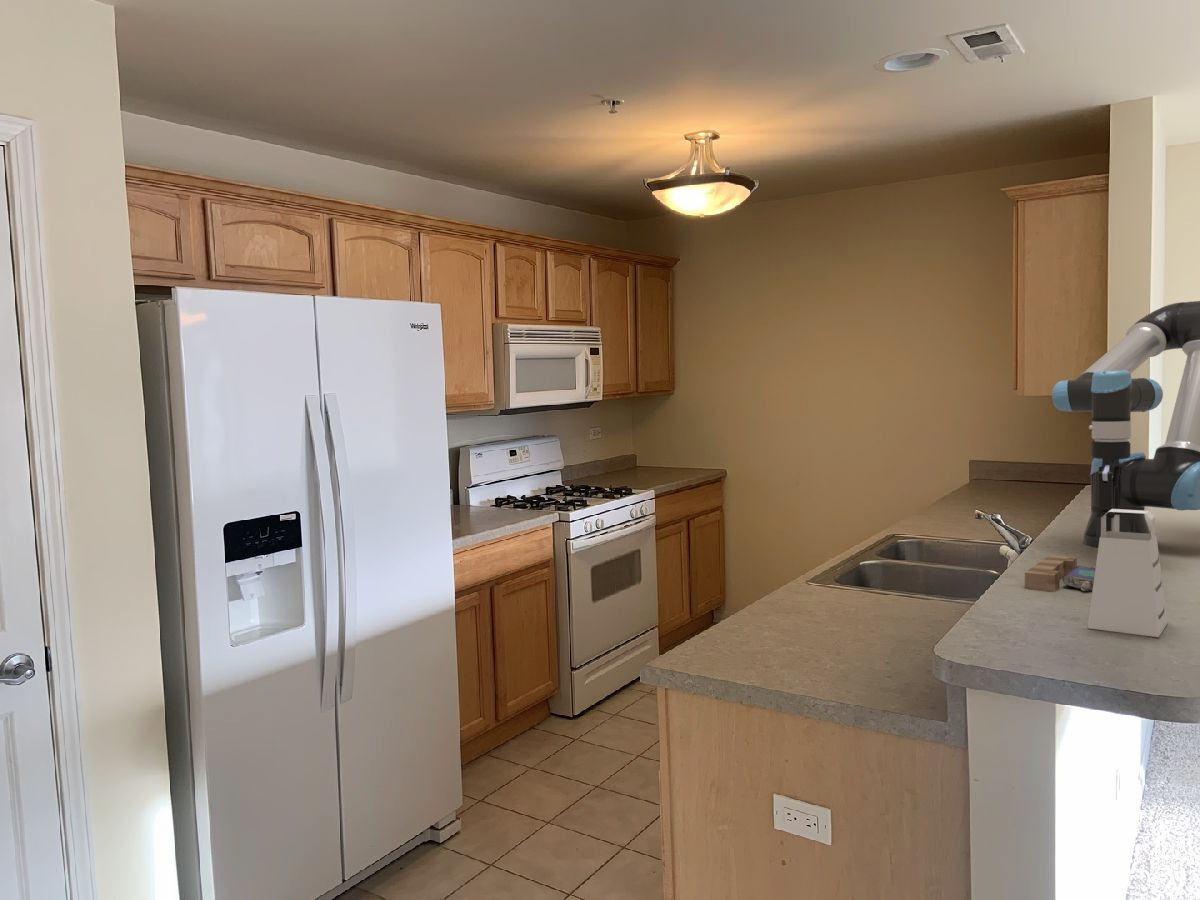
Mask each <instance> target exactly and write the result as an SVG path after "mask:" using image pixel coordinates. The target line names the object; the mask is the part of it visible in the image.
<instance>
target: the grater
mask: <svg viewBox="0 0 1200 900" xmlns="http://www.w3.org/2000/svg"><path fill="white" fill-rule="evenodd" d="M1108 512H1124V513H1143V514H1144V515H1145V516H1147V517H1148V518H1149V520H1151V526H1150V527H1151V528H1150V529H1151V530H1150V532H1151V534H1146V533H1130V532H1115V531H1107V532H1106V514H1107V513H1108ZM1108 512H1107V513H1106V514H1105V515H1104V516H1103V517H1102V536H1101V537H1100V540H1099V547H1098V548H1097V556H1096V561H1095V563H1096V564H1095V568H1096V569H1095V576H1094V584H1093V590H1091V600H1090V607H1089V614H1088V621H1087V622H1088V623H1087V629H1091V630H1099V631H1100V630H1101V631H1106V632H1115V633H1116V632H1117V633H1121V634H1122V633H1123V634H1131V635H1137V636H1139V635H1140V636H1147V637H1155V638H1159V637H1160V636H1161V634H1162V632H1164V629H1165V628H1166V626H1167V624H1168V616H1167V607H1166V601H1165V592H1164V586H1163V585H1164V584H1163V577H1162V570H1161V569H1162V568H1161V559H1160V553H1159V547H1158V546H1159V545H1158V536H1157V533H1156V529H1155V527H1156V526H1155V524H1156V522H1155V521H1156V518H1155V516H1154V514H1153V513H1151V512H1150V511H1149V510H1144V511H1143V510H1123V509H1111V510H1110V511H1108Z"/></svg>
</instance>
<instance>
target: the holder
mask: <svg viewBox="0 0 1200 900" xmlns="http://www.w3.org/2000/svg"><path fill="white" fill-rule="evenodd" d="M1077 566H1078V558H1077V557H1074V556H1063V555H1048V556H1046V557H1045V558H1044V559H1042V560H1040V562H1038V563H1037V564H1035V565H1034V566H1032V567H1030V568H1029V569H1027V571H1026V570H1025V572H1024V589H1025V590H1033V591H1042V592H1050V593H1052V592H1053V593H1055V592H1056V591H1057V590H1058V589H1060V581H1061V579H1063V576H1064V575H1065V574H1067V573H1069V572H1070V571H1071V570H1073V569H1074V568H1075V567H1077Z"/></svg>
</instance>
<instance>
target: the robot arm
mask: <svg viewBox="0 0 1200 900" xmlns="http://www.w3.org/2000/svg"><path fill="white" fill-rule="evenodd" d="M1178 349H1181V350H1182V352H1183V353H1184V354H1185V355H1186V356H1187V357H1186V361H1185V365H1184V368H1183V372H1182V376H1181V380H1180V383H1179V386H1178V392H1177V397H1176V399H1175V403H1174V407H1173V411H1172V416H1171V419H1170V423H1169V427H1168V432H1167V433H1166V434H1167V435H1166V438H1165V442H1164V444H1163V445H1160V446H1158V447H1157V448H1156V449H1155V452H1154V456H1153V458H1146V454H1145V453H1144V452H1131V442H1130V440H1131V437H1132V421H1131V419H1132V418H1131V413H1135V412H1136V413H1141V412H1142V413H1145V412H1147V411H1153V410H1154V409H1156V408H1157V407H1158V406H1159V405H1160V404H1161V403H1162V400H1163V398H1164V396H1163V395H1164V392H1163V391H1164V390H1163V387H1162V386H1161V384H1160V383H1158V382H1157V381H1156V380H1154V379H1152V378H1146V377H1138V378H1132V373H1134V372H1135V371H1136V370H1137V369H1138V368H1139V367H1141V365H1143V363H1145V362H1146V361H1147V360H1148V359H1149V358H1153V357H1157V356H1159V355H1160V354H1162V352H1165V351H1169V350H1178ZM1051 392H1052V393H1051V398H1052V399H1051V400H1052V403H1053V406H1054V407H1055V408H1056V409H1057V410H1058V411H1059V412H1060V411H1061V412H1071V413H1075V412H1077V413H1078V412H1081V413H1082V412H1084V413H1085V412H1087V413H1088V412H1091V424H1090V425H1088V429H1089V430H1091V439H1093V440H1094V441H1092V442H1091V443H1090V444H1091V448H1090V449H1091V454H1090V456H1091V457H1092V458H1093V459H1092V460H1091V465H1090V466H1091V468H1090V473H1089V476H1090V517H1089V518H1088V521H1087V523H1086V527H1085V530H1084V532H1083V535H1082V540H1083V541H1082V543H1083V544H1084V545H1085V546H1087V547H1091V548H1097V549H1098V547H1099V540H1100V537H1101V536H1102V517H1103V516H1104V515H1105V514H1106V513H1107V512H1108V511H1110V510H1111V509H1123V510H1143V511H1145V507H1148V508H1161V509H1172V510H1177V511H1199V510H1200V300H1193V301H1185V302H1184V301H1182V302H1180V301H1179V302H1174V303H1172V304H1171V303H1170V304H1167V305H1164V306H1163V307H1160V308H1158V309H1155V310H1154V311H1152V312H1150V313H1148V314H1146V315H1144V316H1143V317H1142V318H1140V319H1139V320H1138V321H1136V322H1135V323H1134V324H1132V325H1131V326H1130V327H1129V328H1128V330H1127V331H1126V334H1125V336H1124V337H1123V338H1121V340H1120V341H1118V342H1117V343H1116V344H1115V345H1114V346H1113V347H1112V348H1110V350H1108V351H1107V352H1106V353H1105V354H1104V355H1102V356H1101V357H1100V358H1099V359H1097V360H1096V361H1095V362H1094V363H1092V365H1090V366H1089V368H1087V369H1085V370H1084V372H1082V373H1081V374H1080V375H1079V376H1077V377H1076V378H1075V379H1066V380H1059V381H1057V383H1056V384H1054V386H1053V389H1052V391H1051ZM1149 527H1150V526H1149V525H1148V522H1147V519H1146V514H1143V513H1124V512H1108V513H1107V514H1106V532H1107V531H1115V532H1130V533H1146V534H1151V530H1150V528H1149Z"/></svg>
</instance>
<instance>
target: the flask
mask: <svg viewBox="0 0 1200 900" xmlns="http://www.w3.org/2000/svg"><path fill="white" fill-rule="evenodd" d="M1095 569H1096V567H1095V568H1094V567H1093V566H1091V567H1090V566H1089V567H1088V566H1087V565H1080V564H1079V565H1077V567H1075V568H1074V569H1073V570H1071V571H1070V572H1069V573H1067V574H1065V575H1064V576H1063V578H1062V582H1063V583H1064V584H1065V585H1066V586H1069V587H1072V588H1076V589H1080V590H1081V591H1083V592H1085V591H1087V592H1088V591H1093V584H1094V576H1095Z"/></svg>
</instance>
